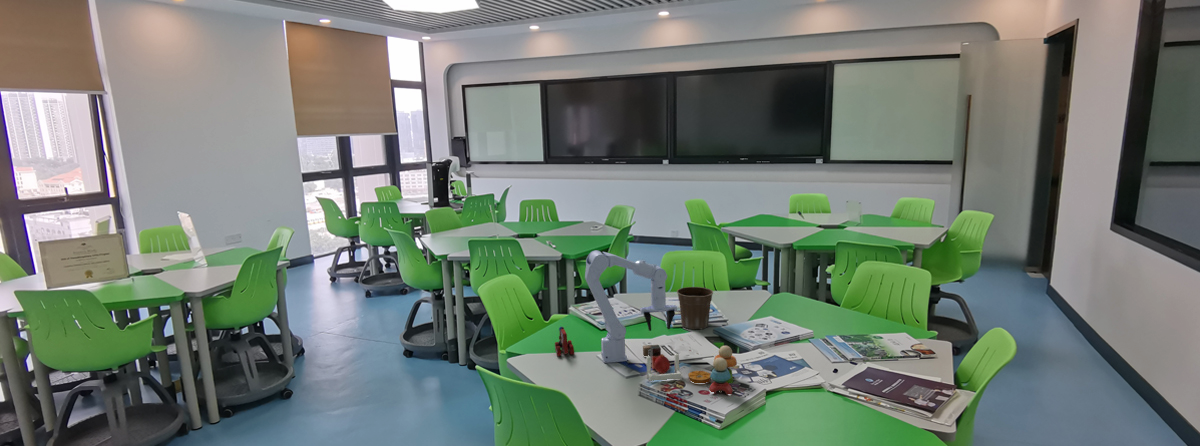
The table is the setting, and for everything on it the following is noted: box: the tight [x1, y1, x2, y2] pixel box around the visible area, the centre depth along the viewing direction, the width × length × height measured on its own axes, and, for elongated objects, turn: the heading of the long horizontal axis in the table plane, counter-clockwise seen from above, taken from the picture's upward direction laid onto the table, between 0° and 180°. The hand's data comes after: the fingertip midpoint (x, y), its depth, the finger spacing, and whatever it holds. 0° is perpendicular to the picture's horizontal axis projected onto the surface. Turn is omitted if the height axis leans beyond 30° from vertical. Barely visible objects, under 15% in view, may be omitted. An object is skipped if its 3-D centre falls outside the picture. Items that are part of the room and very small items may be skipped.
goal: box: [645, 353, 682, 382], centre depth 213 cm, size 12×5×8 cm, turn 97°
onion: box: [654, 353, 671, 374], centre depth 216 cm, size 6×6×8 cm
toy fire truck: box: [554, 326, 575, 357], centre depth 241 cm, size 7×12×10 cm, turn 11°
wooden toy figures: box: [687, 345, 738, 395], centre depth 205 cm, size 18×17×12 cm
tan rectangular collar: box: [642, 344, 655, 357], centre depth 235 cm, size 6×2×4 cm, turn 97°
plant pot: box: [676, 286, 714, 330], centre depth 268 cm, size 16×16×16 cm
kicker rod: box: [645, 344, 662, 370], centre depth 230 cm, size 5×19×7 cm, turn 7°
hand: (659, 329), depth 236 cm, fingers open, 7 cm apart
